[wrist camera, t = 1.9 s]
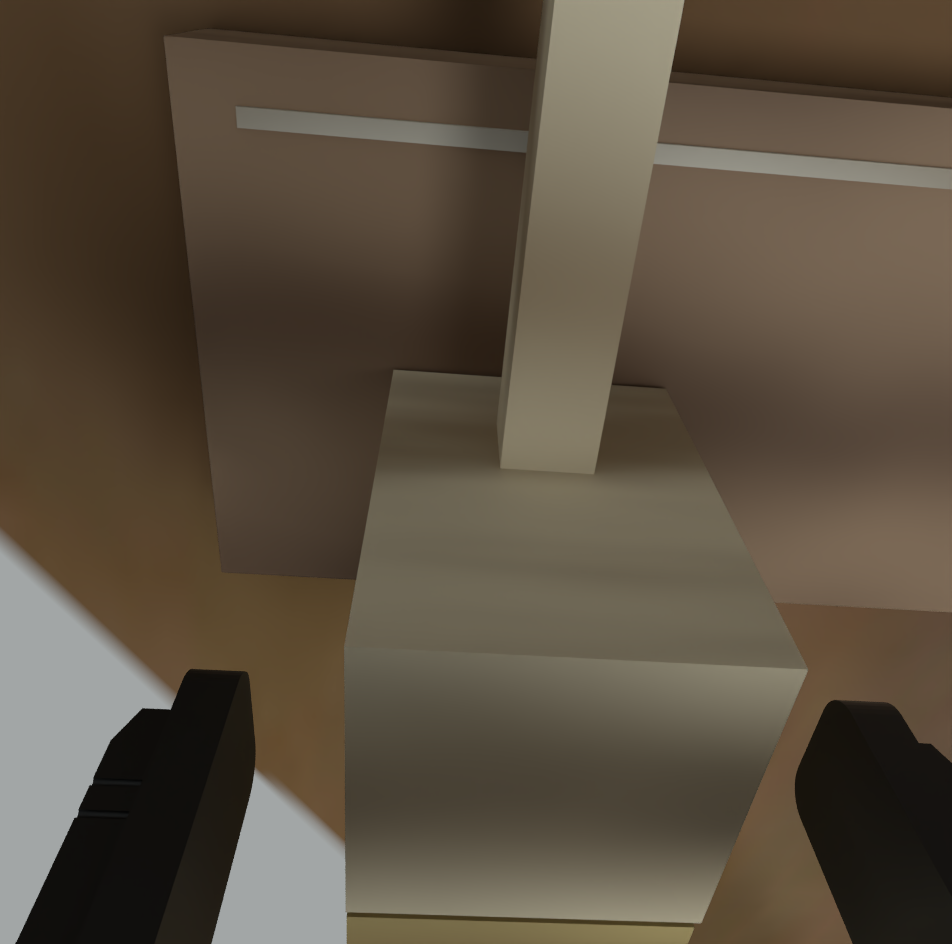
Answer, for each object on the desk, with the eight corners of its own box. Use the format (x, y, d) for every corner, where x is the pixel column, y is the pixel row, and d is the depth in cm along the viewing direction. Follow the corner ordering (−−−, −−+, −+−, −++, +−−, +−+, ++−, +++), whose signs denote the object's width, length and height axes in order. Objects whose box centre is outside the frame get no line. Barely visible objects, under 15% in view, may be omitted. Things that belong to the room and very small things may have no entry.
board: (208, 28, 14) (161, 36, 11) (1690, 166, 15) (1891, 196, 13) (247, 508, 19) (220, 575, 17) (1346, 573, 20) (1449, 642, 18)
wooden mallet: (419, -177, 12) (336, -486, 4) (744, -142, 12) (1245, -367, 4) (392, 585, 20) (345, 978, 12) (591, 596, 20) (673, 988, 12)
